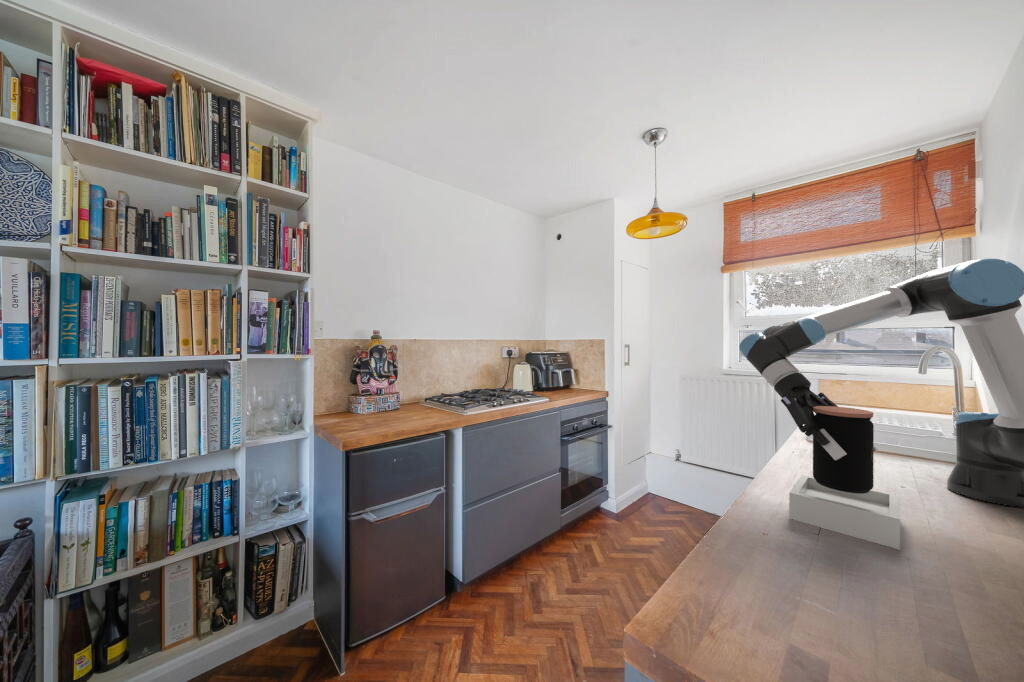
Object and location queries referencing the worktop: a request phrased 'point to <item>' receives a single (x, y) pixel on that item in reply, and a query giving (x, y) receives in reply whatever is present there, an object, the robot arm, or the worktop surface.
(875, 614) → the worktop surface
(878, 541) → the white square tray
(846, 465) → the coffee jar
